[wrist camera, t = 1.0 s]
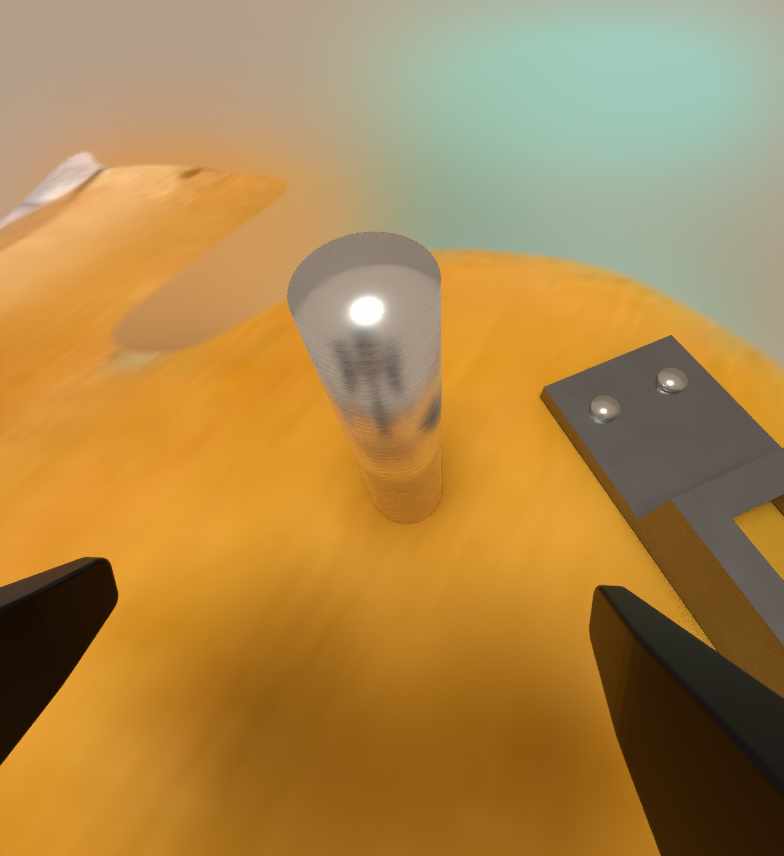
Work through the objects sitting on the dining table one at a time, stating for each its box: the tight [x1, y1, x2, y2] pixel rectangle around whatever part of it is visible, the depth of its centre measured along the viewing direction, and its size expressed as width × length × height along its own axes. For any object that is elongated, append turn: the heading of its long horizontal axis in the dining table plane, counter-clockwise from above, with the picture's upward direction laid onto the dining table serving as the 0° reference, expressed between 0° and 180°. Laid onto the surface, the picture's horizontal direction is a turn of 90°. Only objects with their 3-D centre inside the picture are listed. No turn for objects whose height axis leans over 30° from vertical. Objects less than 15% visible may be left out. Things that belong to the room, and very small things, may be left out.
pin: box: [287, 232, 441, 524], centre depth 16 cm, size 4×4×14 cm
